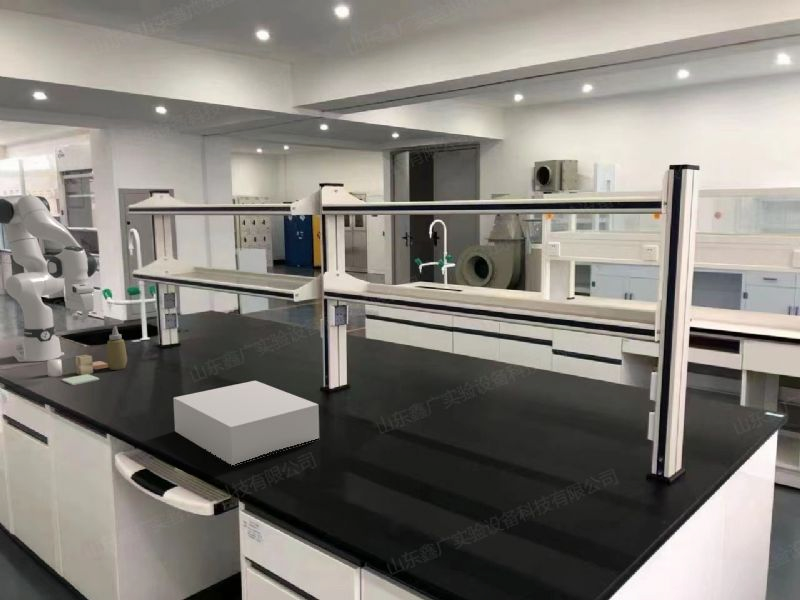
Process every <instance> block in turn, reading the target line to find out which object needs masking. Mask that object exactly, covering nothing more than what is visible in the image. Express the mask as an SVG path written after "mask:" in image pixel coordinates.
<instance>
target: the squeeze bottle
mask: <svg viewBox="0 0 800 600" xmlns="http://www.w3.org/2000/svg"><path fill="white" fill-rule="evenodd" d="M111 332H112V333H111V334H109V340H108V341H107V342H106V343H107V344H106V363H107V364H108V368H109V370H111V371H112V370H113V371H117V370H118V371H119V370H120V371H121V370H123V369H125V368H126V366H127V362H128V355H127V349H126V344H125V340H124V339H123V338H122V334H121V333H119V331H118V327H117V325H114V326H113V327H112V331H111Z"/></svg>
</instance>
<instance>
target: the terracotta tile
mask: <svg viewBox="0 0 800 600" xmlns="http://www.w3.org/2000/svg"><path fill="white" fill-rule="evenodd" d="M92 364H93V370H100V369H105V368H109V366H108V363H107V362H105V361H102V360H98V361H92Z"/></svg>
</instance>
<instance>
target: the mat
mask: <svg viewBox="0 0 800 600" xmlns="http://www.w3.org/2000/svg"><path fill="white" fill-rule="evenodd" d="M99 380H100V378H99V377H97V376H94V375H92V374H85V375H80V374H79V375H77V376H71V377H67V378H62V379H61V381H62V382H64V383H67V384H69V385H71V386H75V385H81V384H85V383H92V382H95V381H99Z"/></svg>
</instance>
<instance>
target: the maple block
mask: <svg viewBox="0 0 800 600" xmlns="http://www.w3.org/2000/svg"><path fill="white" fill-rule="evenodd" d="M92 362H93V355H89V354H83V355H77V356H75V365H76V374H77V375H79V376H80V375H86V374H89V375H91V374H93V373H94V369H93V364H92Z"/></svg>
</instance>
